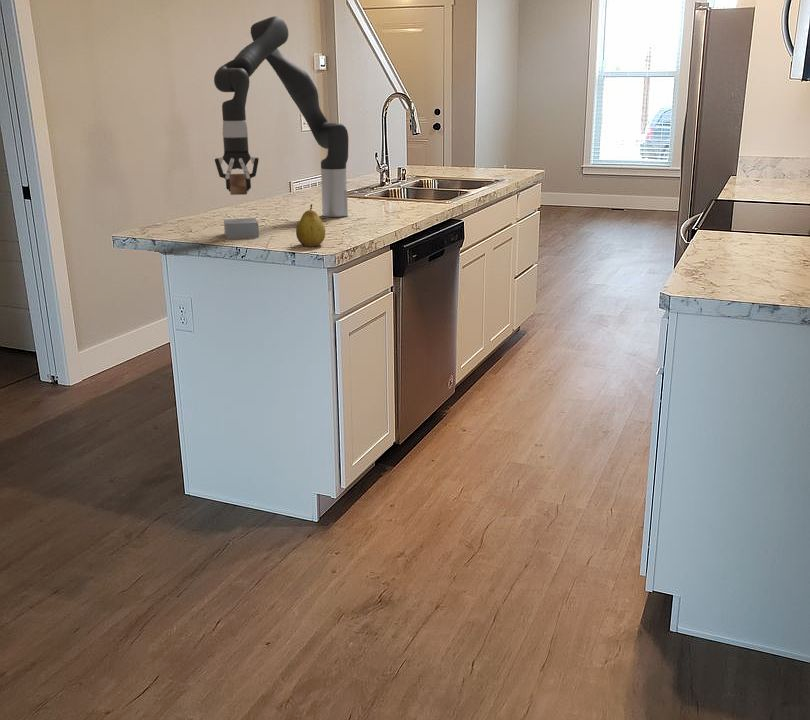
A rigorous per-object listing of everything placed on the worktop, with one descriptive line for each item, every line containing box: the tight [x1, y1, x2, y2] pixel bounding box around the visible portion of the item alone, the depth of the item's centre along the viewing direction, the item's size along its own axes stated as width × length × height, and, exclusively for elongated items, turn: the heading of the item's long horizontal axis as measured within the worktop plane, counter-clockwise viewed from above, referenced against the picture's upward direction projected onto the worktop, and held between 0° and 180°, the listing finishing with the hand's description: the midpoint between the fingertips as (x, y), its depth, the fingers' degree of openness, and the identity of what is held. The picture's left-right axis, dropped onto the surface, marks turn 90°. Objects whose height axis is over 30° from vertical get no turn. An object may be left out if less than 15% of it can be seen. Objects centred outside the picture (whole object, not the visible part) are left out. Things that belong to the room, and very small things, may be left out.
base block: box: [223, 217, 260, 240], centre depth 270 cm, size 10×10×5 cm
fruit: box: [295, 203, 326, 247], centre depth 252 cm, size 9×9×12 cm
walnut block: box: [229, 173, 248, 196], centre depth 266 cm, size 5×5×6 cm
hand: (238, 190), depth 267 cm, fingers closed on walnut block, 5 cm apart
